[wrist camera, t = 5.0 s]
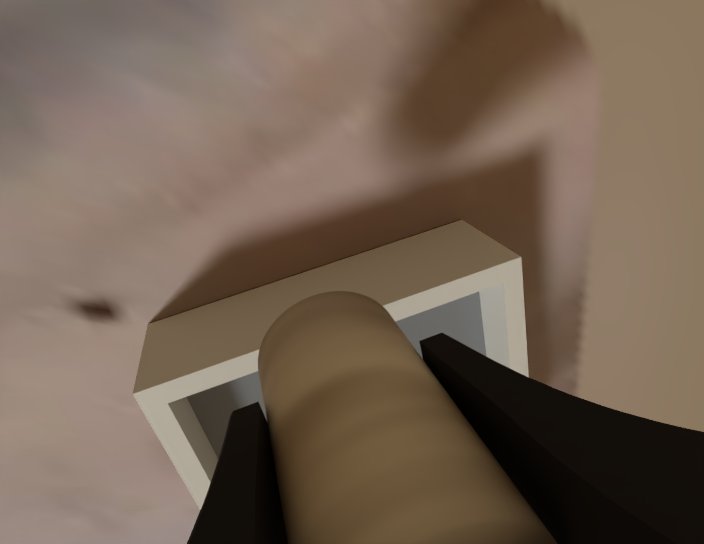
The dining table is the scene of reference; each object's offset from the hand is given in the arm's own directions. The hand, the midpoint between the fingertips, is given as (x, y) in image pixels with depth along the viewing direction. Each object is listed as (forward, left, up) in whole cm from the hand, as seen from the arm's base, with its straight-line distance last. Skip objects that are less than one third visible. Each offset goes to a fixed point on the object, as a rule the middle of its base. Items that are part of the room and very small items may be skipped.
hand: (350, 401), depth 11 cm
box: (-8, -1, -9) cm, 12 cm away
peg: (0, 0, -2) cm, 2 cm away
